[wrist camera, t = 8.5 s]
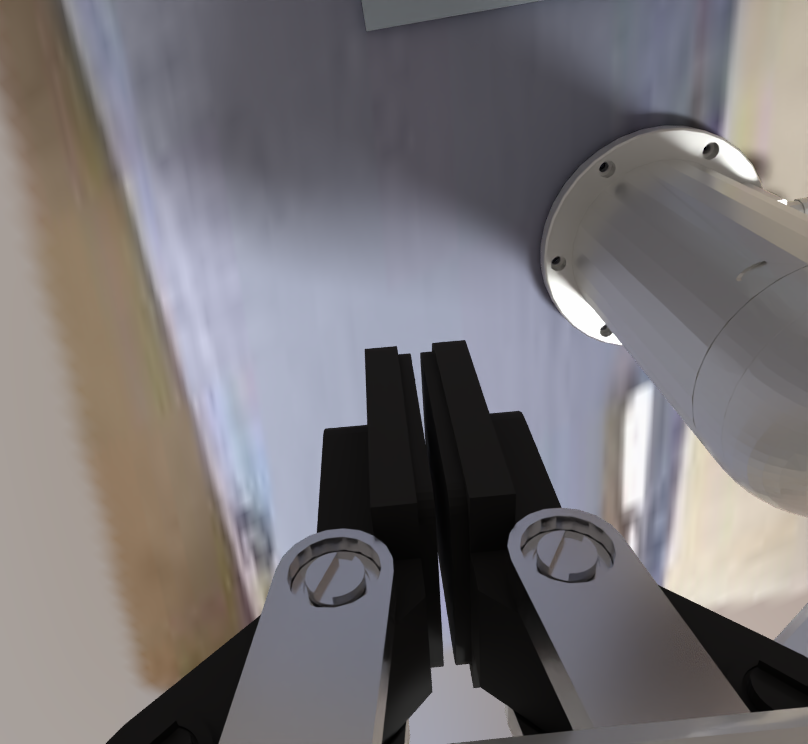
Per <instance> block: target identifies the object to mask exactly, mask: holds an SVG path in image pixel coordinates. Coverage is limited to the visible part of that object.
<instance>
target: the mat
mask: <svg viewBox="0 0 808 744" xmlns="http://www.w3.org/2000/svg"><path fill="white" fill-rule="evenodd" d="M536 1H542V0H361V2H362V8H363V14H364V20H365V26H366V31H372V30H378V29H383V28H389V27H395V26H400V25H406V24H412V23H417V22H423V21H429V20H434V19H440V18H446V17H451V16H457V15H463V14H468V13H474V12H480V11H485V10H491V9H497V8H502V7H508V6H514V5H519V4H525V3H531V2H536Z"/></svg>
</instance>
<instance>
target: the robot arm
mask: <svg viewBox="0 0 808 744" xmlns="http://www.w3.org/2000/svg"><path fill="white" fill-rule="evenodd" d="M706 145H707V148H706V150H705V151H704V152H703V149H704V147H705V146H706ZM603 162H605V163H606V166H605V168H604V169H602V170H599V168H600V166H601V165H602V163H603ZM557 256H558V259H557V260H556V261H555V262H552V260H553V259H554V258H555V257H557ZM541 270H542V275H543V279H544V284H545V286H546V289H547V291H548V293H549V295H550V297H551V300H552V301H553V303H554V304H555V306H556V307H557V309H558V310H559V312H560V313H561V314H562V315H563V316H564V317H565V318H566V320H567V321H568V322H569V323H570V324H571V325H572V326H573V327H575V328H576V329H578V330H579V331H581V332H582V333H584V334H585V335H587V336H589V337H591V338H594V339H596V340H598V341H601V342H604V343H610V344H616V345H621V346H624V348H625V349H626V350H627V351H628V353H629V354H630V355H631V356H632V358H633V359H634V360H635V361H636V362H637V364H638V365H639V366H640V367H641V369H642V370H643V371H644V372H645V374H646V375H647V376H648V377H649V379H650V380H651V381H652V382H653V383H654V385H655V386H656V387H657V388H658V390H659V391H660V392H661V393H662V395H663V396H664V397H665V398H666V399H667V401H668V402H669V403H670V404H671V406H672V407H673V408H674V409H675V411H676V412H677V413H678V414H679V415H680V417H681V418H682V419H683V420H684V422H685V423H686V424H687V425H688V427H689V428H690V429H691V430H692V432H693V433H694V434H695V435H696V436H697V438H698V439H699V440H700V441H701V443H702V444H703V445H704V446H705V448H706V449H707V450H708V452H709V453H710V454H711V455H712V456H713V458H714V459H715V460H716V461H717V463H718V464H719V465H720V466H721V467H722V469H723V470H724V471H725V472H726V473H727V474H728V475H729V476H730V477H731V478H732V479H733V480H734V481H735V482H736V483H737V484H739V485H740V486H741V487H742V488H744V489H745V490H746V491H748V492H749V493H750V494H752V495H753V496H755V497H757V498H758V499H760V500H762V501H764V502H766V503H768V504H770V505H772V506H774V507H776V508H779V509H781V510H784V511H787V512H790V513H793V514H797V515H801V516H805V517H808V197H806V198H800V199H795V200H794V201H790V202H787V201H786V200H785V199H783V198H781V197H779V196H777V195H774V194H772V193H770V192H768V191H766V190H764V189H763V187H762V183H761V180H760V178H759V176H758V174H757V172H756V170H755V168H754V166H753V164H752V163H751V162H750V161H749V160H748V158H747V157H746V156H745V155H744V154H743V153H742V152H741V150H740V149H738V148H737V147H736V146H734V145H733V144H731V143H730V142H728V141H727V140H725V139H724V138H722V137H720V136H717V135H715V134H713V133H710V132H708V131H705V130H701V129H697V128H693V127H689V126H671V125H663V126H658V127H652V128H646V129H641V130H639V131H636V132H633V133H631V134H628V135H625V136H623V137H620V138H618V139H617V140H615V141H613V142H612V143H610V144H608V145H606V146H605V147H603V148H601V149H600V150H598V151H597V152H596V153H595V154H594V155H592V156H591V157H590V158H589V159H588V160H586V161H585V162H584V163H583V164H582V165H580V167H579V168H578V169H577V170H576V171H575V172H574V174H573V175H572V176H571V177H570V178H569V179H568V181H567V182H566V183H565V184H564V186H563V188H562V189H561V191H560V193H559V194H558V196H557V198H556V199H555V201H554V203H553V204H552V207H551V210H550V212H549V215H548V217H547V220H546V222H545V225H544V230H543V236H542V241H541ZM603 325H604V326H603ZM602 326H603V327H602ZM420 359H421V376H422V393H423V410H424V426H425V439H424V433H423V427H422V421H421V414H420V408H419V402H418V396H417V390H416V384H415V378H414V372H413V366H412V360H411V354H399V355H398V350H397V346H394V347H383V348H371V349H365V370H366V398H367V425H361V426H350V427H339V428H328V429H325V430H324V434H323V448H322V463H321V478H320V493H319V508H318V524H317V533H316V534H313V535H310V536H308V537H307V538H305V539H303V540H301V541H300V542H298V543H296V544H295V545H294V546H293V547H292V548H291V549H290V550H289V551H288V552H287V553H286V554H285V555H284V556H283V557H282V559H281V561H280V563H279V565H278V567H277V568H276V571H275V574H274V577H273V580H272V583H271V586H270V589H269V592H268V595H267V598H266V601H265V604H264V607H263V610H262V613H261V615H260V616H259V617H258V618H256V619H255V620H254V621H253V622H251V623H250V624H249V625H248V626H246V627H245V628H244V629H243V630H241V631H240V632H239V633H238V634H236V635H235V636H234V637H233V638H231V639H230V640H229V641H228V642H227V643H225V644H224V645H223V646H222V647H220V648H219V649H218V650H217V651H215V652H214V653H213V654H212V655H210V656H209V657H208V658H207V659H205V660H204V661H203V662H202V663H200V664H199V665H198V666H197V667H196V668H194V669H193V670H192V671H191V672H189V673H188V674H187V675H186V676H184V677H183V678H182V679H181V680H179V681H178V682H177V683H176V684H174V685H173V686H172V687H171V688H169V689H168V690H167V691H166V692H165V693H163V694H162V695H161V696H160V697H158V698H157V699H156V700H155V701H153V702H152V703H151V704H150V705H148V706H147V707H146V708H145V709H143V710H142V711H141V712H140V713H139V714H137V715H136V716H135V717H134V718H132V719H131V720H130V721H129V722H127V723H126V724H125V725H124V726H123V727H122V728H121V729H120V730H119V731H118V732H117V733H116V734H115V735H114V736H113V737H112V738H111V739H110V740H109V741H108V742H107V743H106V744H409V740H410V730H409V718H410V716H411V715H412V714H413V713H414V712H415V711H416V710H417V708H418V707H419V706H420V705H421V704H422V703H423V702H424V701H425V699H426V698H427V697H428V696H429V695H430V694H431V693H432V680H431V668H432V667H441V666H444V662H443V642H442V623H441V605H440V586H439V568H438V557H439V563H440V570H441V576H442V583H443V589H444V596H445V602H446V609H447V615H448V621H449V628H450V634H451V641H452V647H453V654H454V659H455V664H456V665H462V664H470V671H471V676H472V682H473V687H474V688H479V687H481V688H482V689H484V690H485V691H487V692H488V693H490V694H491V695H493V696H494V697H496V698H497V699H498V700H500V701H501V702H503V703H504V704H505V713H506V718H507V722H508V726H509V728H510V731H511V734H512V736H513V737H508V738H499V739H489V740H480V741H470V742H461V743H452V744H808V603H807V604H806V605H805V606H804V607H803V609H802V610H801V611H800V612H799V613H798V614H797V615H796V616H795V617H794V619H793V620H792V621H791V622H790V623H789V624H788V625H787V627H786V628H784V630H783V631H782V632H781V633H780V634H779V635H778V636H777V638H775V639H774V641H773V640H771V639H769V638H767V637H765V636H763V635H761V634H759V633H756V632H754V631H752V630H750V629H748V628H746V627H744V626H742V625H740V624H738V623H736V622H733V621H732V620H730V619H727V618H725V617H723V616H721V615H719V614H717V613H715V612H713V611H711V610H709V609H707V608H705V607H703V606H701V605H698V604H696V603H694V602H692V601H690V600H688V599H686V598H684V597H682V596H680V595H678V594H676V593H674V592H671V591H669V590H667V589H665V588H663V587H661V586H659V585H658V584H657V583H656V582H655V580H654V579H653V578H652V576H651V575H650V573H649V572H648V571H647V569H646V568H645V567H644V565H643V564H642V562H641V561H640V560H639V558H638V557H637V556H636V554H635V553H634V551H633V550H632V549H631V547H630V546H629V545H628V543H627V542H626V540H625V539H624V538H623V536H622V535H621V534H620V533H619V532H618V531H617V530H616V529H615V528H614V527H613V526H612V525H611V524H609V523H608V522H606V521H604V520H603V519H601V518H599V517H598V516H596V515H593V514H590V513H587V512H584V511H581V510H577V509H568V508H561V505H560V503H559V501H558V498H557V496H556V493H555V491H554V488H553V486H552V483H551V481H550V479H549V476H548V474H547V471H546V469H545V466H544V464H543V462H542V459H541V457H540V454H539V452H538V449H537V447H536V445H535V442H534V440H533V437H532V435H531V432H530V430H529V428H528V425H527V423H526V420H525V418H524V416H523V414H522V412H520V411H513V412H502V413H491V414H489V411H488V408H487V405H486V402H485V399H484V396H483V393H482V390H481V387H480V383H479V380H478V377H477V374H476V371H475V368H474V365H473V362H472V359H471V356H470V353H469V350H468V347H467V344H466V342H465V340H461V341H450V342H439V343H432V352H422V353H420ZM425 443H426V445H425Z"/></svg>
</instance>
